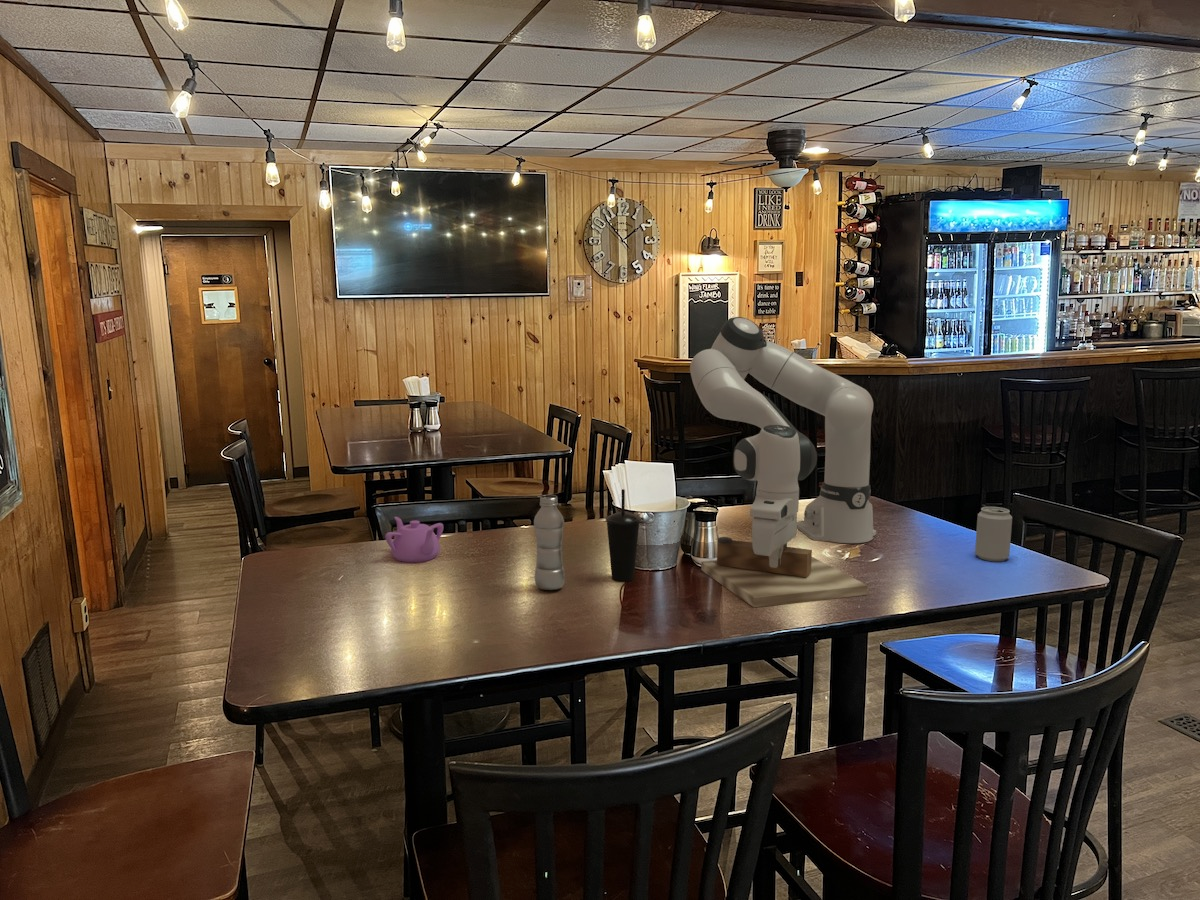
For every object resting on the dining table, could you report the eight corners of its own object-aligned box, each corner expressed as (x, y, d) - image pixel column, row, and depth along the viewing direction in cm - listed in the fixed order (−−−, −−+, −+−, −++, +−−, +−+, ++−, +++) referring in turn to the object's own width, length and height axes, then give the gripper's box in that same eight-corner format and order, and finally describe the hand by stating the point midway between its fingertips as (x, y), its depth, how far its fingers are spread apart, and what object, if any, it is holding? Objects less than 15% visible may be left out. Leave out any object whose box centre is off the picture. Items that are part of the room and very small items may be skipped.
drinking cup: (622, 571, 197) (622, 484, 194) (647, 578, 192) (648, 489, 188) (598, 578, 192) (598, 489, 189) (623, 586, 186) (623, 494, 183)
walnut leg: (714, 564, 194) (714, 540, 193) (720, 559, 198) (720, 536, 197) (806, 577, 185) (807, 551, 184) (811, 572, 189) (812, 547, 188)
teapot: (434, 565, 202) (433, 528, 200) (377, 563, 204) (375, 526, 202) (450, 551, 214) (449, 516, 212) (396, 549, 215) (394, 514, 214)
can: (1014, 562, 203) (1018, 512, 202) (982, 562, 204) (986, 512, 202) (1000, 553, 211) (1004, 505, 209) (969, 553, 211) (973, 505, 209)
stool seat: (701, 570, 198) (701, 548, 197) (802, 560, 205) (803, 539, 204) (754, 607, 173) (754, 583, 172) (867, 594, 181) (868, 571, 180)
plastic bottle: (542, 595, 180) (541, 501, 177) (529, 586, 186) (528, 495, 183) (570, 590, 183) (569, 498, 180) (557, 582, 189) (556, 492, 186)
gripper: (777, 492, 194) (775, 553, 196) (747, 510, 176) (745, 576, 179) (805, 495, 191) (802, 556, 193) (777, 513, 174) (775, 580, 176)
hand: (774, 566), depth 186 cm, fingers closed
